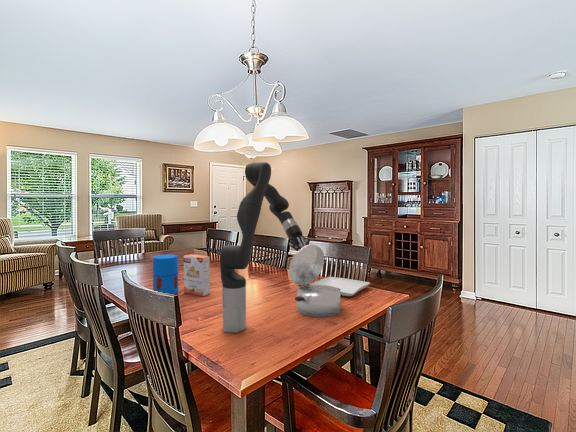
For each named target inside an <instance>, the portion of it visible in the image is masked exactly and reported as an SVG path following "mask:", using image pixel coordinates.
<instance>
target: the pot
mask: <svg viewBox="0 0 576 432" xmlns="http://www.w3.org/2000/svg"><path fill="white" fill-rule="evenodd" d="M296 291H297V292H296V295H297V296H295V297H294V300H295V301H296V302H297V303H296V304H297V305H296V308H297V312H298V313H299V314H302V315H304V316H306V317H313V318H329V317H334V316H336V315H338V314H339V313H340V312H341V295H340V289H339V288H335V287H332V286H327V285H311V284H309V285H305V286H300V287H299V288H297V290H296Z"/></svg>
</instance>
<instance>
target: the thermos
mask: <svg viewBox="0 0 576 432" xmlns="http://www.w3.org/2000/svg"><path fill="white" fill-rule="evenodd" d="M152 284H153V286H152V289H153V290H154V291H158V292H163V293H169V294H174V295H178V296H179V258H178V255H176V254H159V255H155V256H153V257H152ZM153 290H152V291H153ZM179 297H180V296H179Z"/></svg>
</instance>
